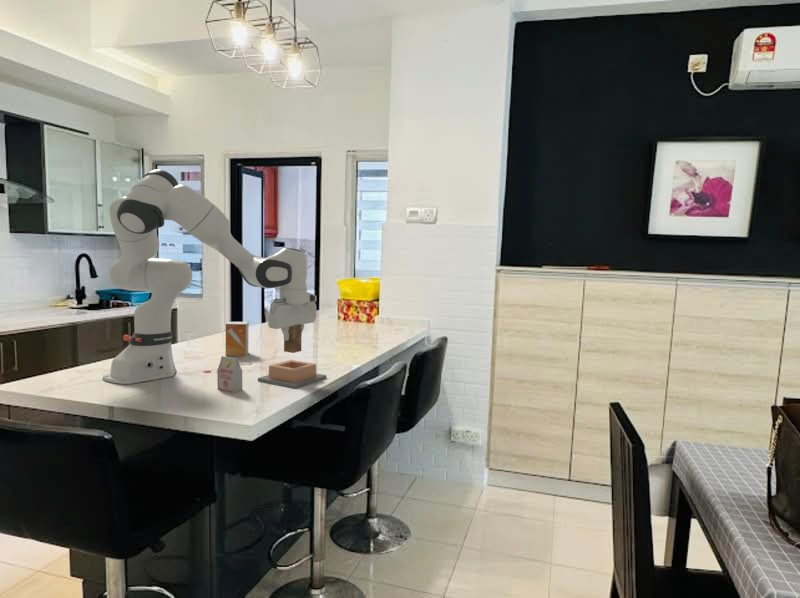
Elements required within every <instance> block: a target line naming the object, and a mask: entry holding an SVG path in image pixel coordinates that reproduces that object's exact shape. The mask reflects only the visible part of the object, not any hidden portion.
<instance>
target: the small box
mask: <svg viewBox="0 0 800 598" xmlns="http://www.w3.org/2000/svg"><path fill="white" fill-rule="evenodd" d="M248 353H249V321H228V322H226V324H225V357H229V356H231V357H234V356H235V357H237V356H238V357H241V356H244V357H246V356H248Z"/></svg>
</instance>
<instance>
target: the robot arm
mask: <svg viewBox="0 0 800 598" xmlns="http://www.w3.org/2000/svg"><path fill="white" fill-rule="evenodd" d="M108 211H109V217H110V223H111V226H112V229H113V232H114V235H115V237H116V240H117V243H118V245H119V247H120V251H121V256H120V257H119V258H118V259H116V260H115V261H113V264H112V265H111V267H110V269H109V279H110V282H111V283H112V284H113V285H114V287H115V288H117V289H121V290H126V291H133V292H151V297H150V299H149V300H147V301H144V302H143V303H141V304H139V305H138V306H137V307H136V308H135V310H134V312H133V314H134V315H133V316H134V318H133V319H134V332H133V333H132V335H130V334H124V335H123V336H122V338H123V341H126V342H129V345H128V346H126V347H125V349H123V350H122V351H121V352H120V353H118V355H116V356H115V357H114V358H113V359H112V361H111V366H110V373H106V374H104V375H102V380H104V381H105V382H110V383H114V384H120V385H121V384H122V385H123V384H124V385H131V384H136V383H144V382H147V381H153V380H155V381H156V380H159V379H165V378H171V377H174V376H175V373H177V369H176V365H175V361H174V357H173V349H172V345H173V344H172V343H173V331H172V329H171V328H172V327H171V323H172V321H171V319H172V309H173V306H174V303H175V301H176V299H177V298H178V297H179V295H180V294H181V293H182V292H183V291H185V290H186V289H188V287H190V285H191V283H192V281H193V270H192V269H191V267H190V265H189V264H188V263H187V262H186V261H182V260H179V259H174V258H153V257H155V255H156V254H157V253H158V252H159V248H160V240H159V237H158V235H157V231H156V229H159V228H162V227H164V226H165V221H173V222H175V223H177V225H178V226H180V227H181V228H182V229H184V230H185V231H186V232H187V233H188V234H190V235H191V236H192V237H194V238H195V239H196V240H198V241H200V242H201V243H203V244H205V245H206V246H208V247H211V248H212V249H214V250H216V251H217V252H218V253H219V254H221V255H222V256H223V257H225V259H227V260H228V261H230V263H232V265H234V266H235V267H236V268H237V269H238V271H239V273H240V275H241V276H242V278H243V280H244V282H246V283H247V285H249V286H252V287H256V288H264V289H274V288H278V287H279V299H276V298H275V299H273V301H272V302H271V303H270V308H269V310H268V311H269V312H268V320H267V323H268V324H267V326H268V328H269V329H275V330H279V329H280V330H281V332H282V335H283V341H284V340H286V341H288V340H291V335H289V333H288V330H289V327H291V326H294V325H300V324H302V333H303V331H304V329H305V325H307V324H314V323H315V322H316V320H317V304H316V302H317V295H316V294H313V293H310V292H309V291H308V286H307V284H306V283H307V278H308V264H307V263H308V262H307V257H306V253H305V252H304V251H303V250H301V249H297V248H293V247H283V248H281V250H279V251H278V252H275V253H274V254H272V255H269V256H267V257H262V256H257V255H255V254H252V253H251V252H250V251H249V250H248V249H246V247H244V246H243V245H242V244H241V243H240V242H239V241H238V240H237V239H235V238H234V236H233V235H232V233H231V223H230V220H229V219H228V217H227V216H226V215H225V214H224V213H223V212H222V211H221V209H219V208H218V207H217V206H216V205H215V204H214V203H213V202H211V200H209V199H208V198H206V197H205V196H204V195H202V194H201V193H200V192H198V191H197V190H195V189H193V188H192V187H190V186H187V185H185V184H179V183H178V181H177V179H176V178H175V176H174V175H172V174H171V173H170V172H168V171H166V170H164V169H159V168H158V169H153V170H150V171H148V172H146V174H144V175H143V176H142V177H141V179H140V180H138V182H137V183H135V184H134V186H133V187H131V189H130V191H129V192H128V194H127V195H126V196H121V197H118V198H115V199H114V200H113V201H112V202H111V204H110V205H109V210H108ZM302 333H301V338H302V337H303V336H302Z"/></svg>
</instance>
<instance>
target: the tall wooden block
mask: <svg viewBox="0 0 800 598" xmlns="http://www.w3.org/2000/svg"><path fill="white" fill-rule="evenodd" d="M288 333H289V335H291V340H288V341H286V340H284V339H283V352H285V353H291V354H295V353H298V352H299V353H300V352H302V337H301V333H303V331H302V324H300V325H294V326H291V327H289V330H288Z"/></svg>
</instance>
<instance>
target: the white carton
mask: <svg viewBox="0 0 800 598" xmlns="http://www.w3.org/2000/svg"><path fill="white" fill-rule="evenodd" d="M216 373H217V390H220V391H225V392H229V393H232V394H233V393H236V392H237V393H238V392H240V391H243V369H242V368H241V364H240V362H239V359H238V358H235V357H229V356H223V355H222V356H221V358H220V362H219V365H218V368H217V371H216Z"/></svg>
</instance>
